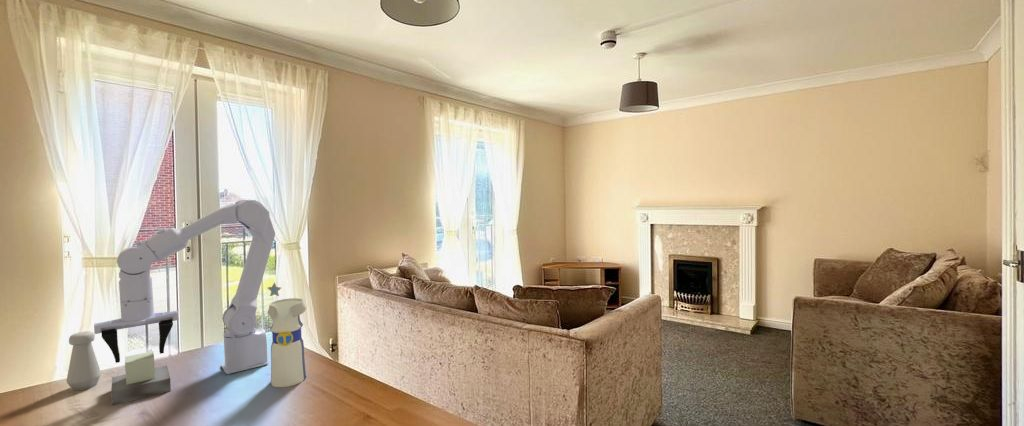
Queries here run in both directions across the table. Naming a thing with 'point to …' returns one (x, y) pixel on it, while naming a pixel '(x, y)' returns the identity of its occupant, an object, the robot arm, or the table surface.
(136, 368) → the sage block
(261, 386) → the table surface
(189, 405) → the table surface
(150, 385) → the gray plinth
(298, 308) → the cream belted dress
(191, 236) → the robot arm
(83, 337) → the salt shaker
